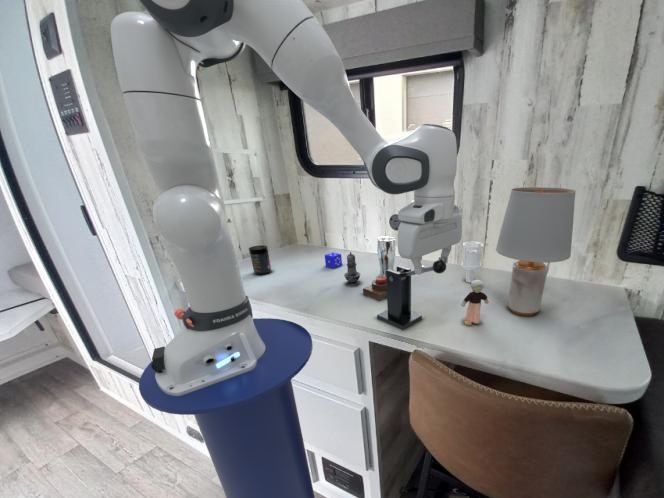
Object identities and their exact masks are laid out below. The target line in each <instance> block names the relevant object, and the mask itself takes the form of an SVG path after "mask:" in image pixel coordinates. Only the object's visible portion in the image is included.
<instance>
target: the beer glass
mask: <svg viewBox="0 0 664 498" xmlns="http://www.w3.org/2000/svg"><path fill="white" fill-rule="evenodd" d="M376 239H377V242H376V243H377V244H376V248H377V249H376V250H377V259H378V264H379V269H380V270H379V276H384V277H387V276H386V270H393V271H395V263H396V256H397V243H396V237H394V236H380V237H377V238H376Z"/></svg>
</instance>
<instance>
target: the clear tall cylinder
mask: <svg viewBox="0 0 664 498" xmlns="http://www.w3.org/2000/svg"><path fill="white" fill-rule="evenodd" d="M462 248H463V250H462V251H463V253H462V262H461V263H460V265H461V266H460V267H461V268H462V269H464V270H466V272H465V282H466V283H472V281H474V280H475V274H476V270H477V271H478V270H480V269H481V268H482V263H481V258H482V250H483V249H484V243H482V242H479V241H465V242H463V243H462Z"/></svg>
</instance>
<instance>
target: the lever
mask: <svg viewBox="0 0 664 498" xmlns="http://www.w3.org/2000/svg"><path fill="white" fill-rule="evenodd" d="M446 270H447V263H446V264H445V262H444V261H442V260H439V259H437V260H435V261H434V262H433V263H432V265H431V266H425V267H424V273H429V272H434V273H436V274H443V273H444V272H445V271H446ZM396 272H399V273H401V280H404V279H406V276H411V277H412V276H415V275H416V274H415V272H414V270H413V269H412V270H411V271H409V272H404V270H401V271H397V270H396Z"/></svg>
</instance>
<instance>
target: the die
mask: <svg viewBox="0 0 664 498" xmlns="http://www.w3.org/2000/svg"><path fill="white" fill-rule="evenodd" d="M342 259H343V258H342V253H338V252H329V253H327V254H324V263H325V267H327V268H331V269H336V268H339V267H342V266H343V260H342Z"/></svg>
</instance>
